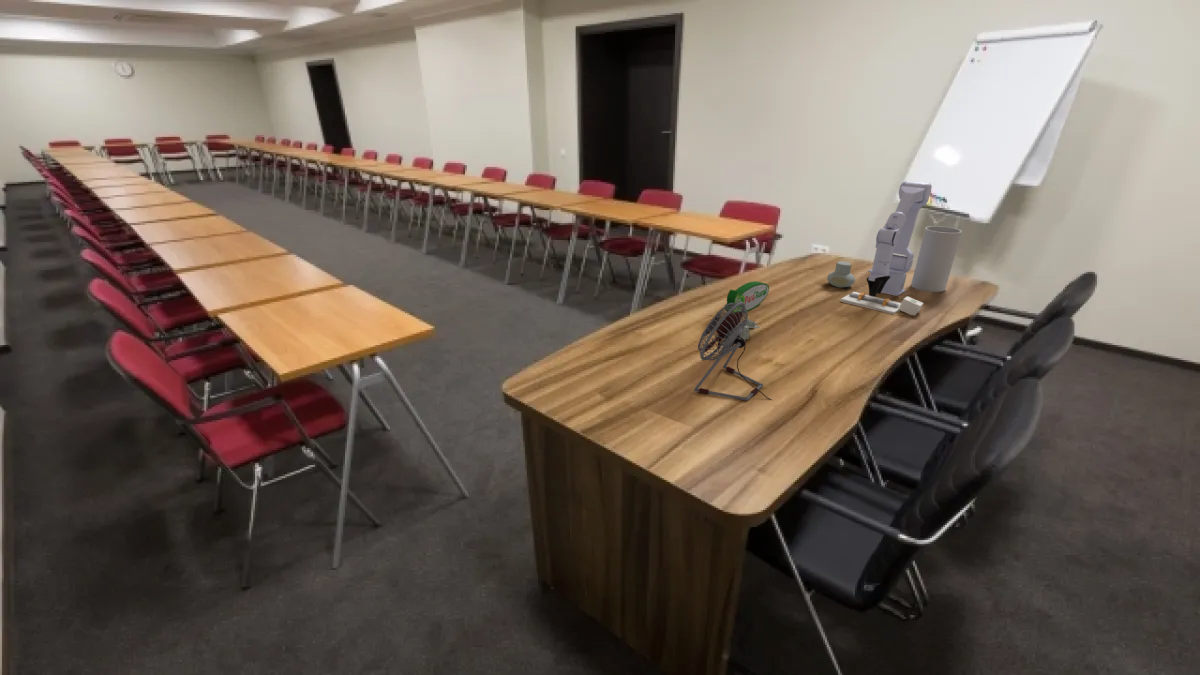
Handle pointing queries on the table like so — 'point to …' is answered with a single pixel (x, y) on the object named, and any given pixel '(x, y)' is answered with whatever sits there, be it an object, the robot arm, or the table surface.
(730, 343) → the desk fan
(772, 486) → the table surface
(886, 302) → the din rail
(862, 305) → the rail board
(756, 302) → the sign
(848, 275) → the air freshener
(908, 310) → the block
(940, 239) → the cylinder vase
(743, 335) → the metal bracket
